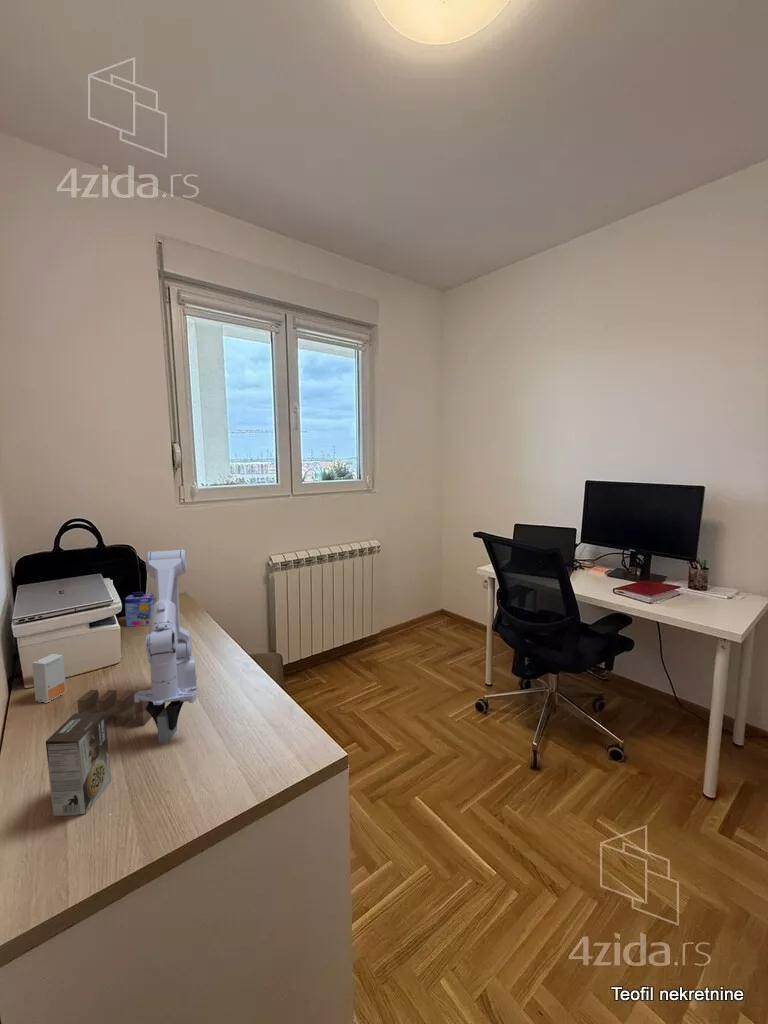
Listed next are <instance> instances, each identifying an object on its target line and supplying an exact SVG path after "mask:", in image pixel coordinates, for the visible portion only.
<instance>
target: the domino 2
mask: <svg viewBox="0 0 768 1024" xmlns="http://www.w3.org/2000/svg"><path fill="white" fill-rule="evenodd" d="M117 693H118V692H117V690H116V689H108V690H107V691H106V692H105V693H103V694H102V695H101V696H99V699H97V700H96V704H97V713H105V719H106V726H107V725H108V724H110V722H111V721H113V720H114V718H116V704H115V700H117V699H118V696H117Z"/></svg>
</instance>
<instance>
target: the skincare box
mask: <svg viewBox="0 0 768 1024" xmlns="http://www.w3.org/2000/svg"><path fill="white" fill-rule="evenodd" d="M64 658H65V657H64V654H60V655H59V654H50V655H48V656H46V657H43V658H41V659H40V660H38V659H37V660H35V661H33V662H32V663H31V664H32V673H33V674H32V676H33V677H32V678H33V685H34V686H33V688H34V697H35V698H34V699H35V702H36V701H38V702H37V703H41V702H44V703H43V704H48V702H49V703H50V702H51V700H52V701H53V699H54V700H55V699H57V698H59V697H61V696H62V695H65V694H66V693H67V688H66V687H67V683H66V675H65V673H66V672H65V661H64V660H65V659H64ZM60 695H61V696H60Z"/></svg>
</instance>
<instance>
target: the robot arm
mask: <svg viewBox="0 0 768 1024" xmlns="http://www.w3.org/2000/svg"><path fill="white" fill-rule="evenodd" d="M145 569H146V572H147V574H148V575H149V577H150V578H152V579H155V580H154V581H155V595H156V596H155V597H156V598H155V599H156V600H155V601H156V602H154V605H153V606H152V607H151V616H150V625H149V631H148V632H149V633H147V634H146V637H145V650H146V655H147V660H148V662H147V663H148V664H149V666H150V668H149V669H150V683H151V689H147V690H146V691H145V690H138V691H137V692H136V693H135V695H134V700H135V702H140V701H148V702H149V703H148V705H147V706H146V711H147V712H148V713H149V714H150V715H151V716H152V718H151V719H153V721H154V722H155V725H156V727H157V729H158V725H157V716H158V715H159V714H160V713H161V712H162V711H163V710H164V709H165V707H166V706H167V705H168V706H167V707H166V711H167V714H168V717H169V728H170V730H174V728H175V727H176V726H177V727H178V720H179V716H180V712H181V709H182V707H183V705H184V702H188V703H189V704H194V702H195V701H196V700H197V691H195V690H197V677H198V676H197V673H196V672H197V671H196V670H197V669H196V661H195V656H194V655H193V656H192V654H193V653H192V652H193V648H192V646H193V645H192V644H193V641H192V636H191V632H190V630H188V629H185V628H184V627H182V626H181V619H180V617H181V615H180V600H179V598H180V597H179V579H180V576H181V575H185V574H186V572H187V554H186V551H185V549H183V548H182V549H175V550H174V549H172V550H158V551H157V550H156V551H150V550H149V551H148V552H147V553H146V554H145ZM166 703H168V704H167V705H166Z"/></svg>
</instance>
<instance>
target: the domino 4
mask: <svg viewBox="0 0 768 1024" xmlns="http://www.w3.org/2000/svg"><path fill="white" fill-rule="evenodd" d="M144 691H146V690H144ZM134 703H135V716H134V717H135V726H136V727H144V726H145V725H147V723H148V722H149V721H150V720H151V719H153V718H152V716H151V715H150V714H149V713H148V712H147V711H146V706H147V705H148V703H149V702H148V701H140V702H135V701H134Z"/></svg>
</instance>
